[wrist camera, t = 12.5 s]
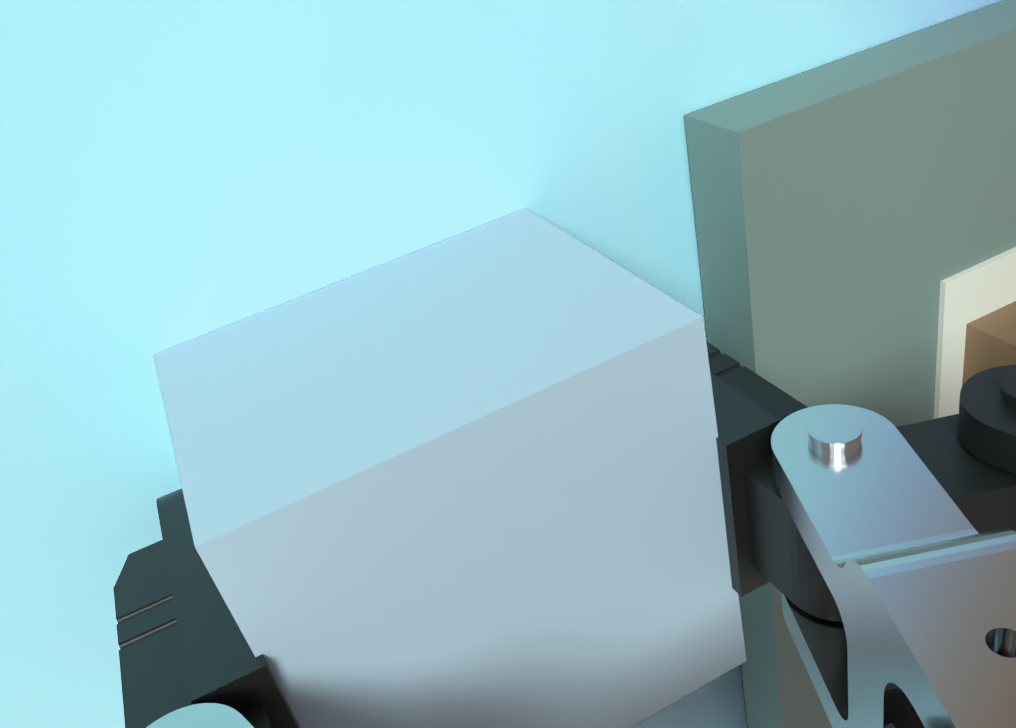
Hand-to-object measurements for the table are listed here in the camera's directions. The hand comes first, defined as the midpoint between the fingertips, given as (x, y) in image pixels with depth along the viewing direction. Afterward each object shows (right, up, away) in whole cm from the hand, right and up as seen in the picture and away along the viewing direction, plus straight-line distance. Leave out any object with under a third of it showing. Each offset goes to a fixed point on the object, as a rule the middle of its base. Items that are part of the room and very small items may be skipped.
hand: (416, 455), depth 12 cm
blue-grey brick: (0, 0, 0) cm, 1 cm away
